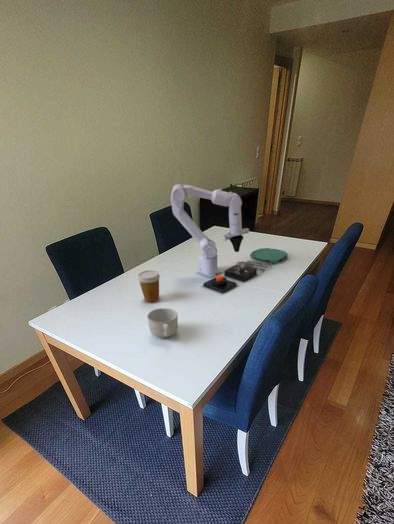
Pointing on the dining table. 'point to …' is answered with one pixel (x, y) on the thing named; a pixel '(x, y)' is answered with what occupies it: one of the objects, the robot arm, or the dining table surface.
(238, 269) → the oven dial
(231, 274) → the dial panel
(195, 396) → the dining table surface
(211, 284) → the button housing
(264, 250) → the green plate with cutlery
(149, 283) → the disposable coffee cup
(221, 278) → the button
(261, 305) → the dining table surface
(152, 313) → the teacup
